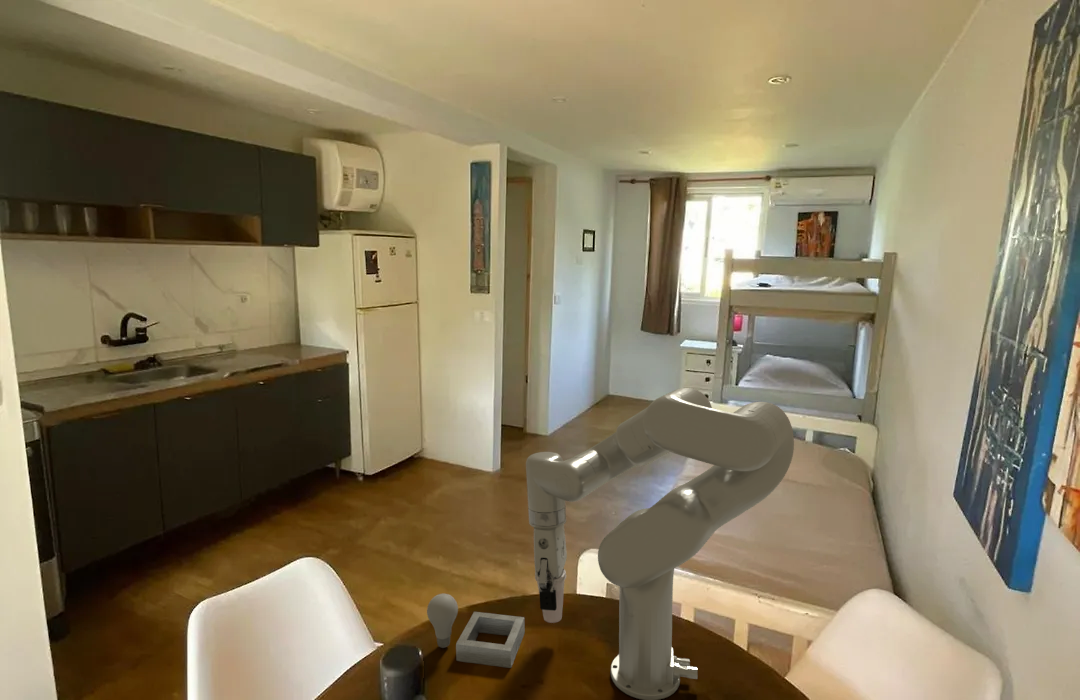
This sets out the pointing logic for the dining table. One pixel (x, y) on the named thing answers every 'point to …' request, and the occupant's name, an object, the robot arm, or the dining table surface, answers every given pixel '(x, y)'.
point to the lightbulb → (442, 617)
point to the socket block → (490, 651)
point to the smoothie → (556, 615)
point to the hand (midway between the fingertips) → (551, 599)
